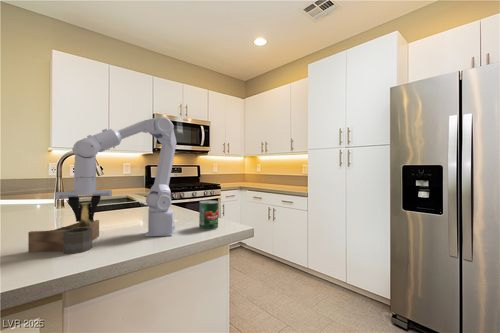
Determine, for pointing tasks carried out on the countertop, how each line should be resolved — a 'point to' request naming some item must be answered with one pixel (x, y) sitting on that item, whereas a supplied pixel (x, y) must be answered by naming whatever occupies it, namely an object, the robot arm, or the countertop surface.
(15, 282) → the countertop surface
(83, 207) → the pin
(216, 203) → the canned tomato
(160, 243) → the countertop surface
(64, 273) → the countertop surface
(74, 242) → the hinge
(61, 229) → the hand tool
